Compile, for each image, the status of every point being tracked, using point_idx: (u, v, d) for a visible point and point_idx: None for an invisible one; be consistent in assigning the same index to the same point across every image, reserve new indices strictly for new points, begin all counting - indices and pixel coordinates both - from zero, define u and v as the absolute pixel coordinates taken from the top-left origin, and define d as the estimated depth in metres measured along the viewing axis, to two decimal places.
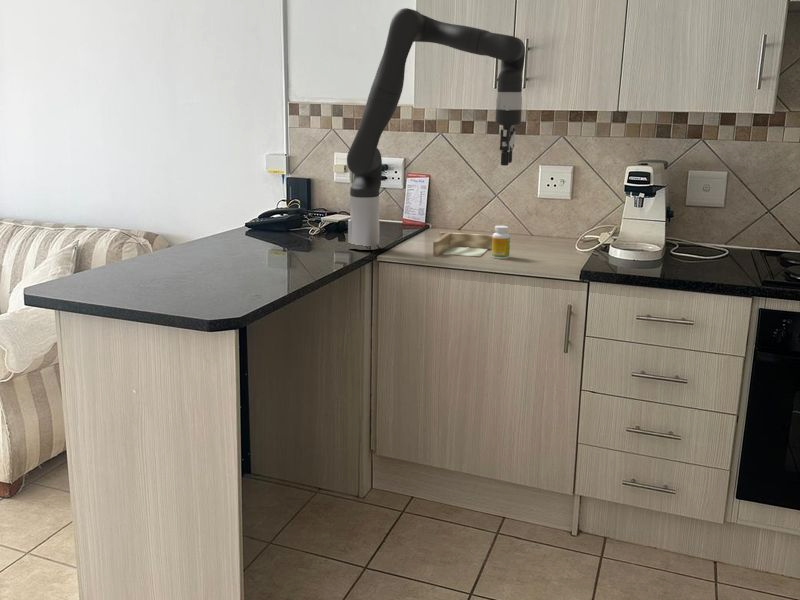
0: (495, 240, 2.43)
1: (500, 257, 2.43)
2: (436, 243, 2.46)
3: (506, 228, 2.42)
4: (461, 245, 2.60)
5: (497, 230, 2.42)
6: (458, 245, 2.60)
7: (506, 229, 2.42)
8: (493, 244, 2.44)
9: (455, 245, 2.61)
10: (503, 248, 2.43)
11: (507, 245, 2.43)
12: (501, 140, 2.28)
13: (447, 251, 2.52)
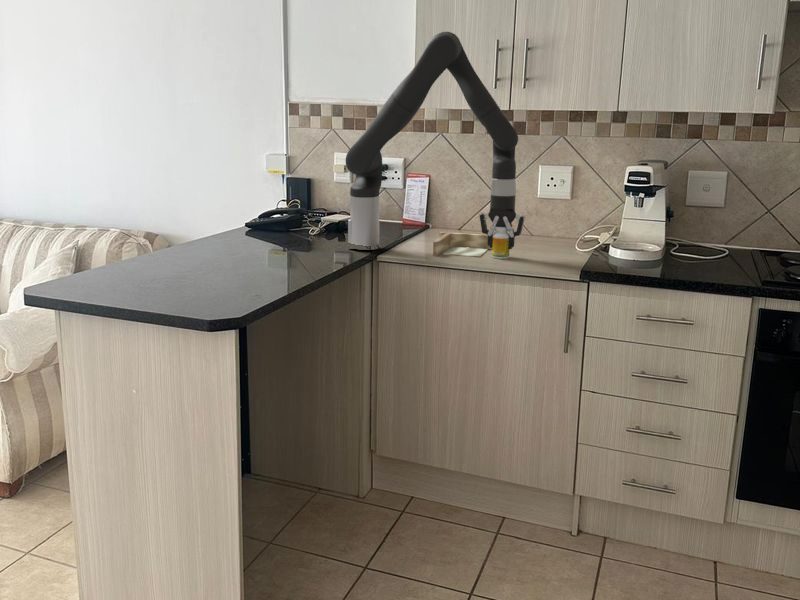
0: (495, 240, 2.43)
1: (500, 257, 2.43)
2: (436, 243, 2.46)
3: (506, 228, 2.42)
4: (461, 245, 2.60)
5: (497, 230, 2.42)
6: (458, 245, 2.60)
7: (506, 229, 2.42)
8: (493, 244, 2.44)
9: (455, 245, 2.61)
10: (503, 248, 2.43)
11: (507, 245, 2.43)
12: (521, 227, 2.41)
13: (447, 251, 2.52)
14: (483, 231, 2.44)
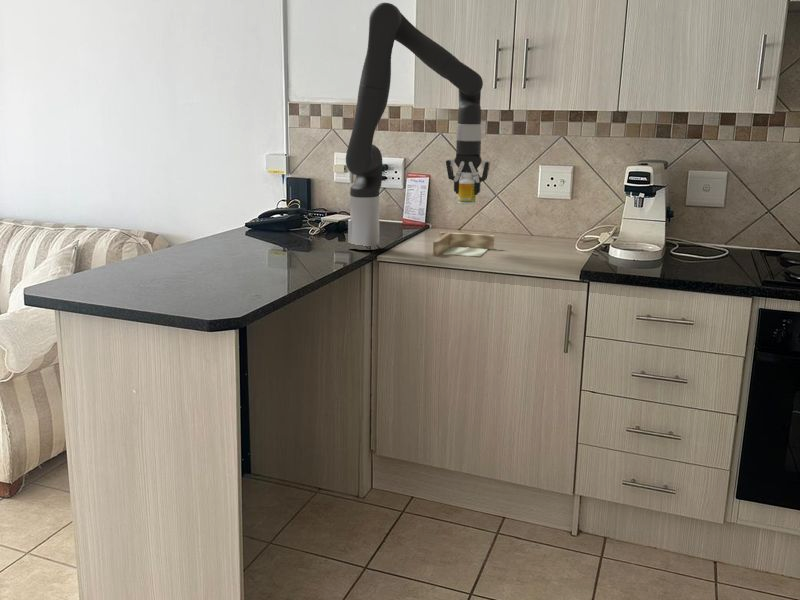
0: (461, 185, 2.46)
1: (466, 202, 2.46)
2: (436, 243, 2.46)
3: None
4: (461, 245, 2.60)
5: (463, 176, 2.46)
6: (458, 245, 2.60)
7: (472, 174, 2.45)
8: (459, 190, 2.47)
9: (455, 245, 2.61)
10: (469, 193, 2.46)
11: (473, 190, 2.46)
12: (487, 172, 2.44)
13: (447, 251, 2.52)
14: (449, 177, 2.47)
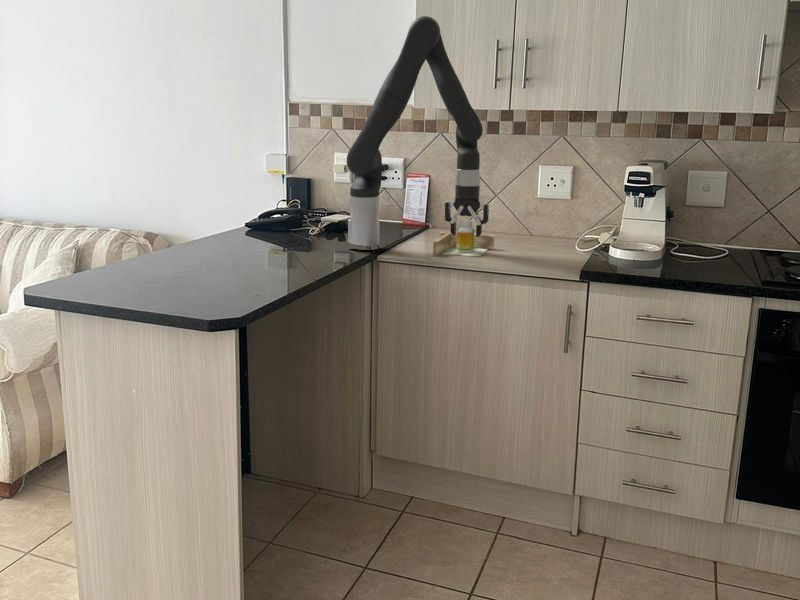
0: (459, 234, 2.50)
1: (464, 251, 2.50)
2: (436, 243, 2.46)
3: (470, 222, 2.49)
4: None
5: (461, 225, 2.50)
6: None
7: (470, 223, 2.49)
8: (457, 238, 2.51)
9: (455, 245, 2.61)
10: (467, 242, 2.50)
11: (471, 239, 2.50)
12: (487, 214, 2.47)
13: (447, 251, 2.52)
14: (446, 219, 2.51)
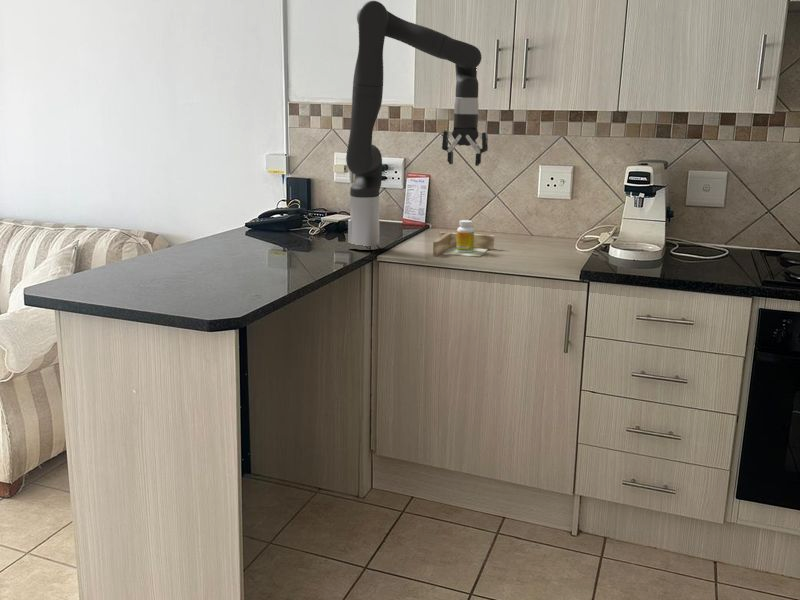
0: (459, 234, 2.50)
1: (464, 251, 2.50)
2: (436, 243, 2.46)
3: (470, 222, 2.49)
4: None
5: (461, 225, 2.50)
6: None
7: (470, 223, 2.49)
8: (458, 238, 2.51)
9: (455, 245, 2.61)
10: (467, 242, 2.50)
11: (471, 239, 2.50)
12: (486, 142, 2.47)
13: (447, 251, 2.52)
14: (443, 147, 2.51)
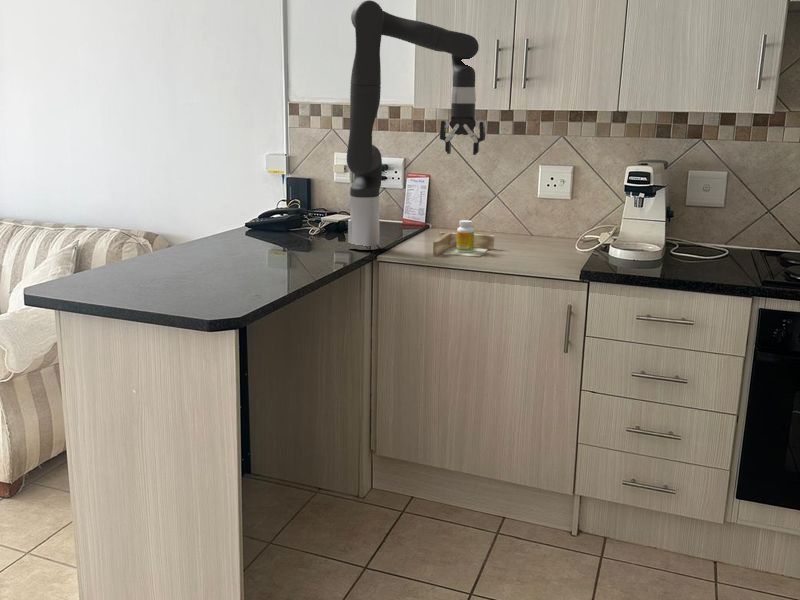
0: (459, 234, 2.50)
1: (464, 251, 2.50)
2: (436, 243, 2.46)
3: (470, 222, 2.49)
4: None
5: (461, 225, 2.50)
6: None
7: (470, 223, 2.49)
8: (458, 238, 2.51)
9: (455, 245, 2.61)
10: (467, 242, 2.50)
11: (471, 239, 2.50)
12: (483, 131, 2.49)
13: (447, 251, 2.52)
14: (441, 137, 2.53)
